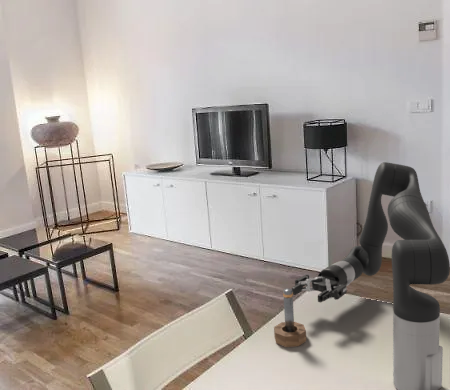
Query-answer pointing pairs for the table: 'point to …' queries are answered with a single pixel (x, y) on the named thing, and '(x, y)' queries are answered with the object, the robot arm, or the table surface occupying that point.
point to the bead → (290, 335)
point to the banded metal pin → (288, 310)
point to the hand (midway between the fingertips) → (305, 295)
